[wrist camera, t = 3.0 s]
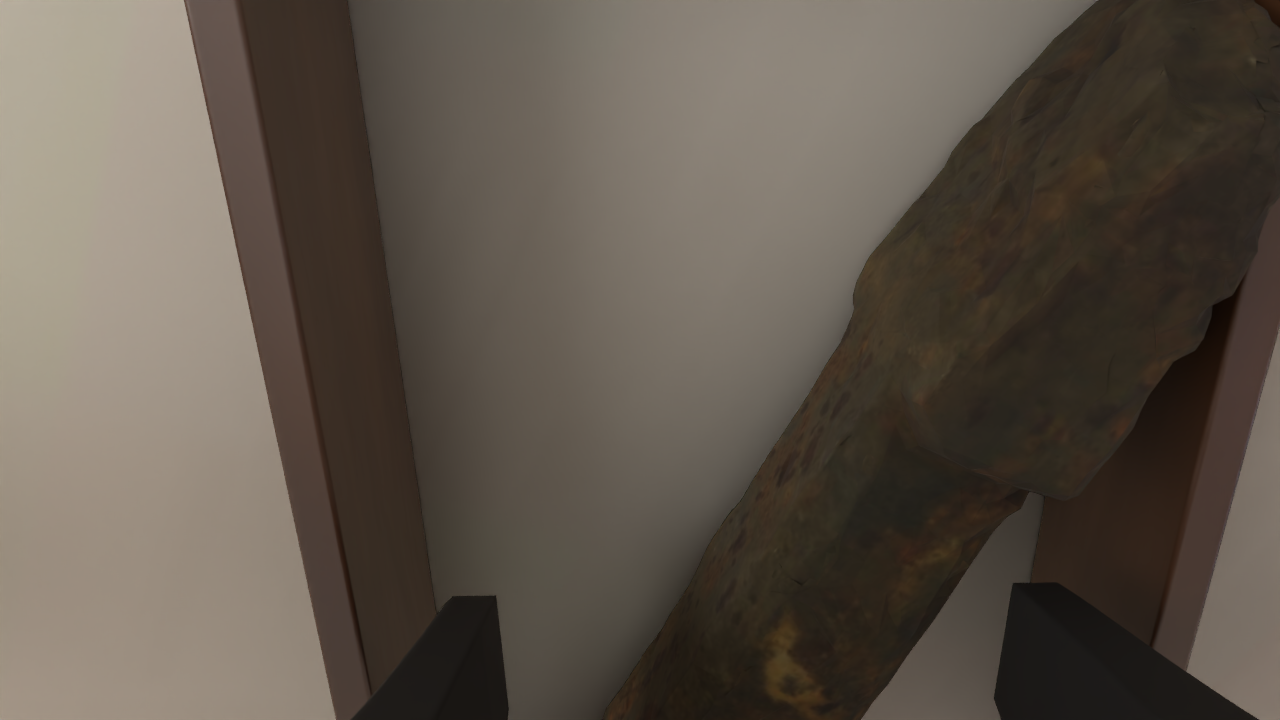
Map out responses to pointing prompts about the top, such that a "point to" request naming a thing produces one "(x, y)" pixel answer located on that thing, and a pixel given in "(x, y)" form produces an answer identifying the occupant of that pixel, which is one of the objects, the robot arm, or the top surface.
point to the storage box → (375, 403)
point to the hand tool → (986, 357)
